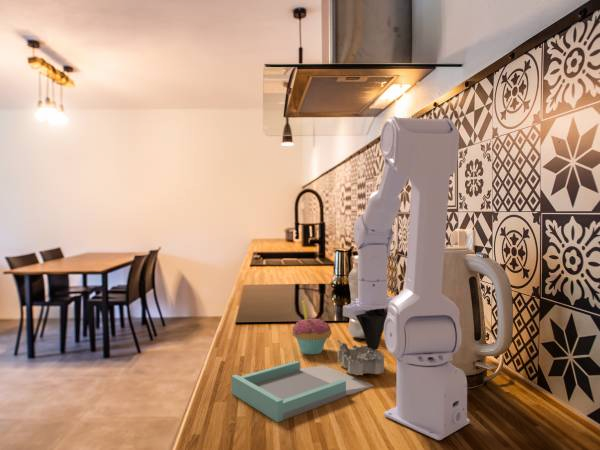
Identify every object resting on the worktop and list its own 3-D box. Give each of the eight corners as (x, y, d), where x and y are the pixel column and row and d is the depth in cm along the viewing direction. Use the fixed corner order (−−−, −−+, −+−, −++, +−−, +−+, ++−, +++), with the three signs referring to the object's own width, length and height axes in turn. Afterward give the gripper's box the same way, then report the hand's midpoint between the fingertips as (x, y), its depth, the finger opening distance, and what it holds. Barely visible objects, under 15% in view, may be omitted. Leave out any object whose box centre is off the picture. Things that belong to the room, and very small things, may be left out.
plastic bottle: (376, 342, 101) (376, 257, 100) (347, 340, 102) (347, 256, 101) (376, 334, 107) (376, 254, 106) (349, 333, 108) (349, 254, 108)
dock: (374, 390, 75) (374, 368, 75) (277, 427, 62) (277, 401, 62) (324, 369, 85) (324, 350, 85) (231, 398, 72) (231, 375, 72)
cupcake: (297, 359, 89) (297, 301, 89) (288, 346, 97) (287, 294, 97) (336, 355, 91) (336, 299, 91) (323, 343, 100) (323, 292, 99)
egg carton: (334, 359, 87) (335, 338, 87) (370, 359, 88) (371, 339, 88) (347, 376, 77) (348, 353, 77) (388, 376, 78) (389, 353, 78)
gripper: (381, 273, 92) (381, 336, 92) (331, 280, 83) (331, 350, 83) (408, 277, 86) (408, 344, 87) (358, 285, 77) (358, 360, 78)
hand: (372, 347), depth 85 cm, fingers closed, pressing on egg carton
